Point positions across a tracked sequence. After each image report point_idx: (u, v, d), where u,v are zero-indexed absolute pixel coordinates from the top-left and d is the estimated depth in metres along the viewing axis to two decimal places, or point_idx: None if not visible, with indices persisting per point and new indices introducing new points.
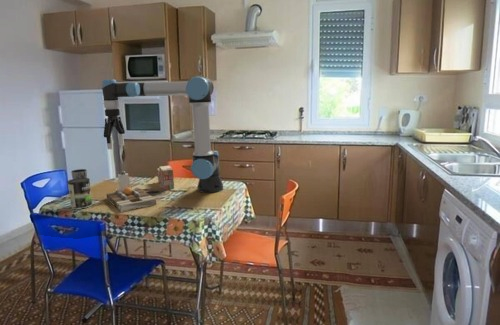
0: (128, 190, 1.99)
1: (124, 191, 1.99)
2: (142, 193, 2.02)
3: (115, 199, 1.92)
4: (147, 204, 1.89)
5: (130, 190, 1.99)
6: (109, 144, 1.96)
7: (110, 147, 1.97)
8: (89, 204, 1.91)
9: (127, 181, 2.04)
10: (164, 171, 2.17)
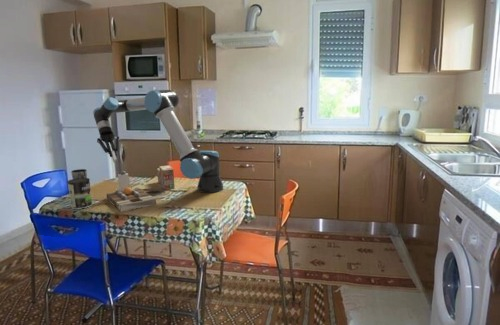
0: (128, 190, 1.99)
1: (124, 191, 1.99)
2: (142, 193, 2.02)
3: (115, 199, 1.92)
4: (147, 204, 1.89)
5: (130, 190, 1.99)
6: (112, 157, 2.15)
7: (113, 159, 2.14)
8: (89, 204, 1.91)
9: (127, 181, 2.04)
10: (164, 171, 2.18)
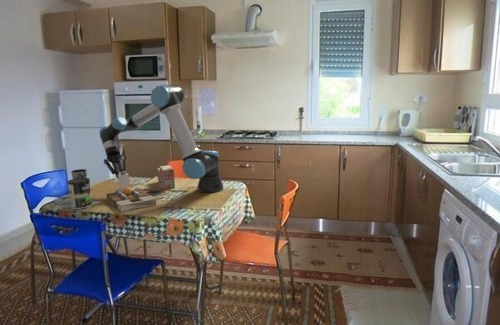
0: (128, 190, 1.99)
1: (124, 191, 1.99)
2: (142, 193, 2.02)
3: (115, 199, 1.92)
4: (147, 204, 1.89)
5: (130, 190, 1.99)
6: None
7: None
8: (89, 204, 1.91)
9: (127, 181, 2.04)
10: (165, 171, 2.18)
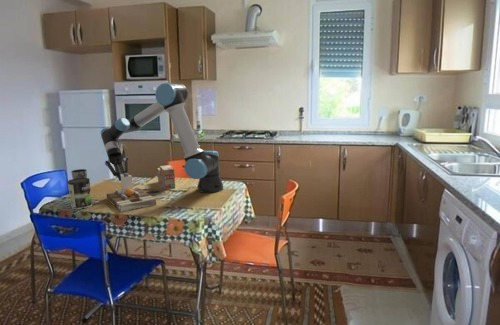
0: (130, 195, 1.97)
1: (126, 194, 1.96)
2: (142, 193, 2.02)
3: (115, 199, 1.92)
4: (147, 204, 1.89)
5: None
6: None
7: None
8: (89, 204, 1.91)
9: (130, 183, 1.99)
10: (165, 171, 2.18)
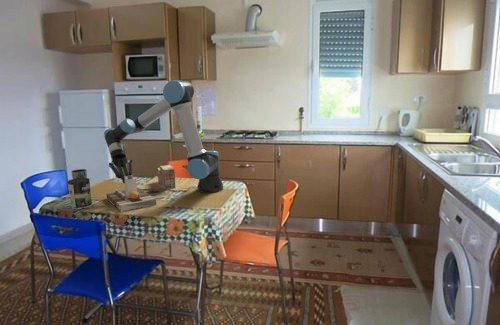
0: (133, 192, 1.91)
1: (130, 195, 1.91)
2: (142, 193, 2.02)
3: (115, 199, 1.92)
4: (147, 204, 1.89)
5: (135, 192, 1.92)
6: None
7: None
8: (89, 204, 1.91)
9: (134, 186, 1.93)
10: (166, 170, 2.19)
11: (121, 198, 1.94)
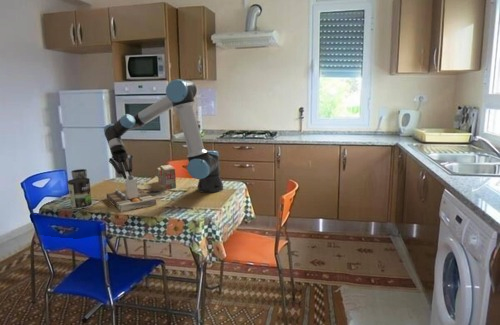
0: None
1: None
2: (142, 193, 2.02)
3: (115, 199, 1.92)
4: (147, 204, 1.89)
5: None
6: None
7: None
8: (89, 204, 1.91)
9: (135, 186, 1.92)
10: (166, 170, 2.19)
11: (121, 198, 1.94)
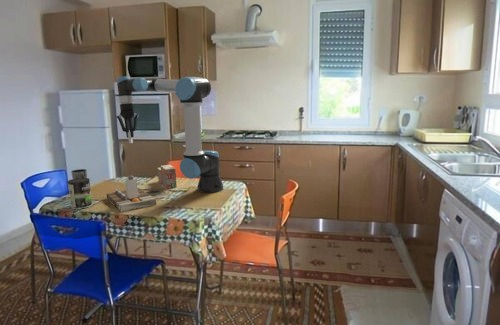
0: None
1: None
2: (142, 193, 2.02)
3: (115, 199, 1.92)
4: (147, 204, 1.89)
5: None
6: None
7: None
8: (89, 204, 1.91)
9: (135, 186, 1.92)
10: (167, 170, 2.20)
11: (121, 198, 1.94)
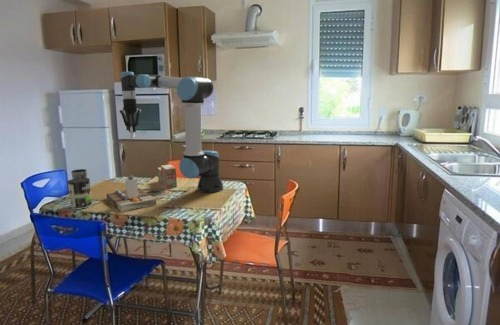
0: None
1: None
2: (142, 193, 2.02)
3: (115, 199, 1.92)
4: (147, 204, 1.89)
5: None
6: None
7: None
8: (89, 204, 1.91)
9: (135, 186, 1.92)
10: (167, 170, 2.20)
11: (121, 198, 1.94)
